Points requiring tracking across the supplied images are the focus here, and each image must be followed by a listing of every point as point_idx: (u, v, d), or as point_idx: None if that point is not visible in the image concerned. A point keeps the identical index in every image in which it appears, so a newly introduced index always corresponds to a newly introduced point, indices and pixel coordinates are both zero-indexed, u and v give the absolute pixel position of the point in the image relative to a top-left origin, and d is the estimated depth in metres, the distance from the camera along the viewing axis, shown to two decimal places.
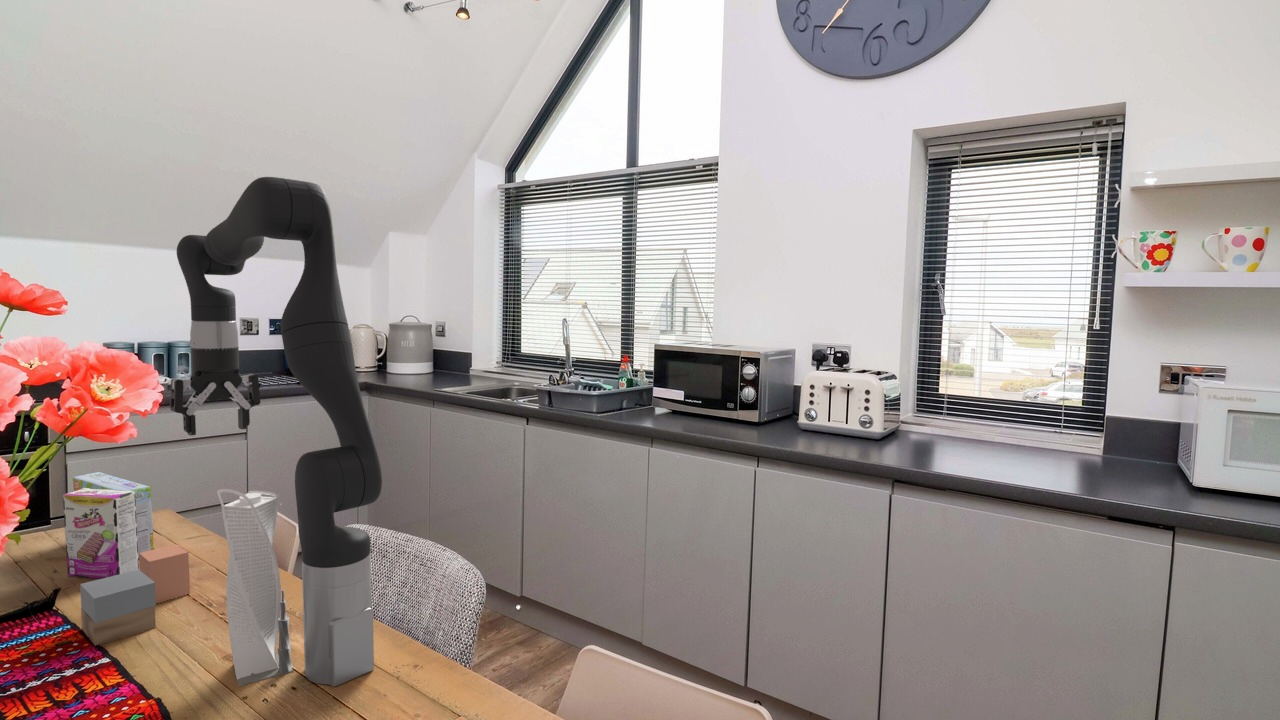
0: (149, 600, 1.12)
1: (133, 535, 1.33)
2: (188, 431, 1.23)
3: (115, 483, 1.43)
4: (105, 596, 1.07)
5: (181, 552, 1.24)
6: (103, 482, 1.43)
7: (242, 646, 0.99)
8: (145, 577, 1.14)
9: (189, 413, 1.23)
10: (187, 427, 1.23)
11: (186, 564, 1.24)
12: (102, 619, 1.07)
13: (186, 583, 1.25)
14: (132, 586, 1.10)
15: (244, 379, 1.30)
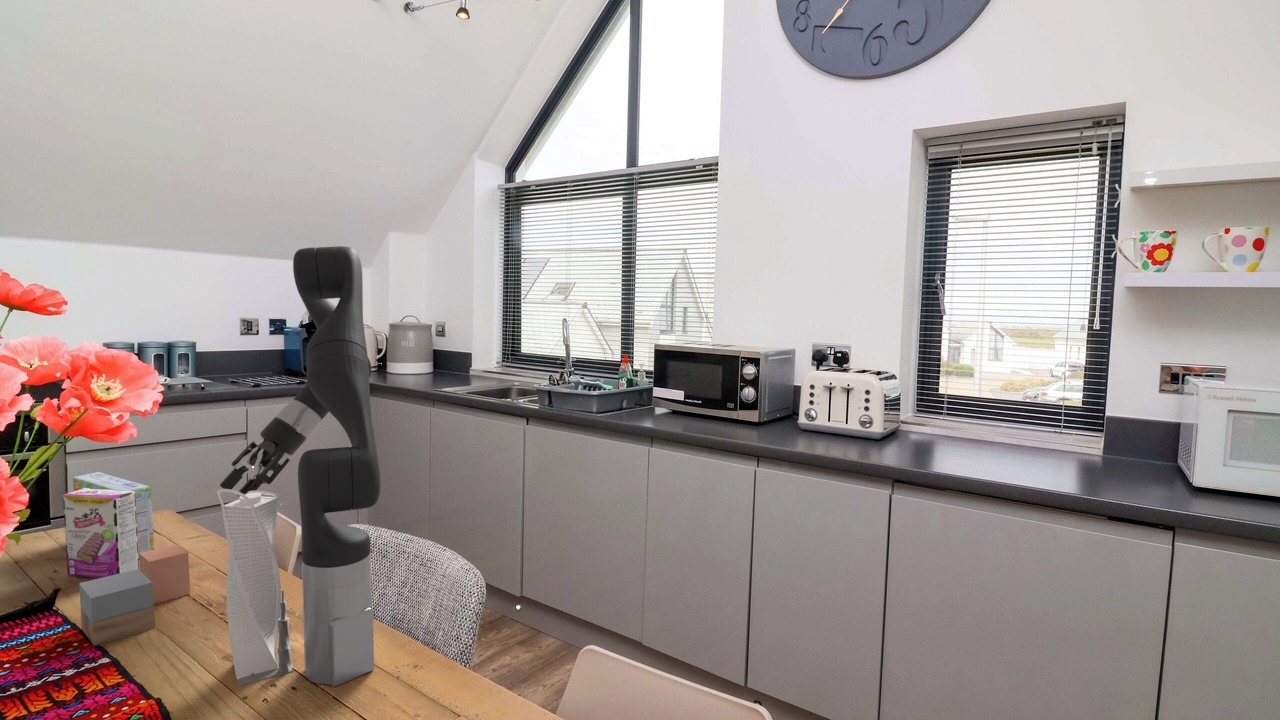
0: (146, 600, 1.12)
1: (133, 535, 1.33)
2: None
3: (115, 483, 1.43)
4: (102, 596, 1.07)
5: (181, 552, 1.24)
6: (103, 481, 1.43)
7: (242, 646, 0.99)
8: (143, 577, 1.14)
9: (233, 467, 1.37)
10: None
11: (186, 564, 1.24)
12: (99, 619, 1.07)
13: (186, 583, 1.25)
14: (129, 586, 1.10)
15: None
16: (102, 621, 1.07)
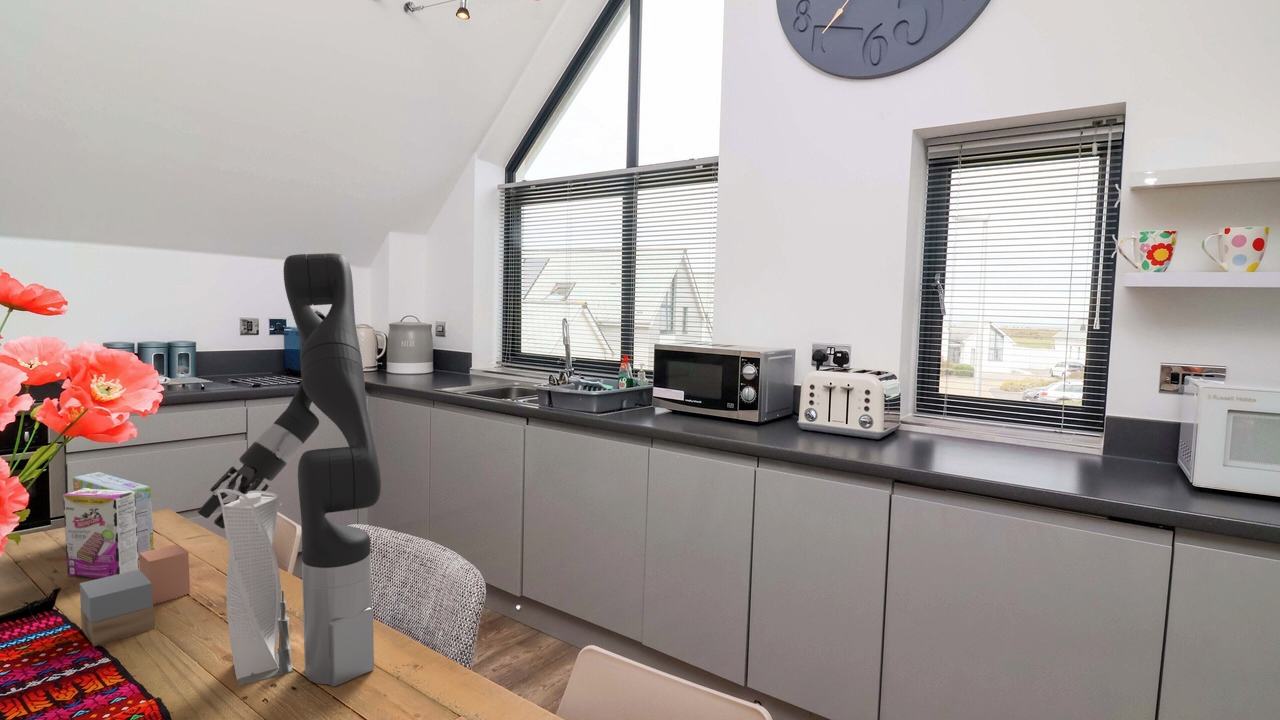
0: (146, 601, 1.11)
1: (133, 535, 1.33)
2: None
3: (115, 483, 1.43)
4: (101, 596, 1.07)
5: (181, 552, 1.24)
6: (103, 482, 1.43)
7: (242, 646, 0.99)
8: (143, 577, 1.14)
9: (212, 493, 1.34)
10: None
11: (186, 564, 1.24)
12: (98, 619, 1.07)
13: (186, 583, 1.25)
14: (128, 587, 1.10)
15: None
16: (102, 621, 1.07)
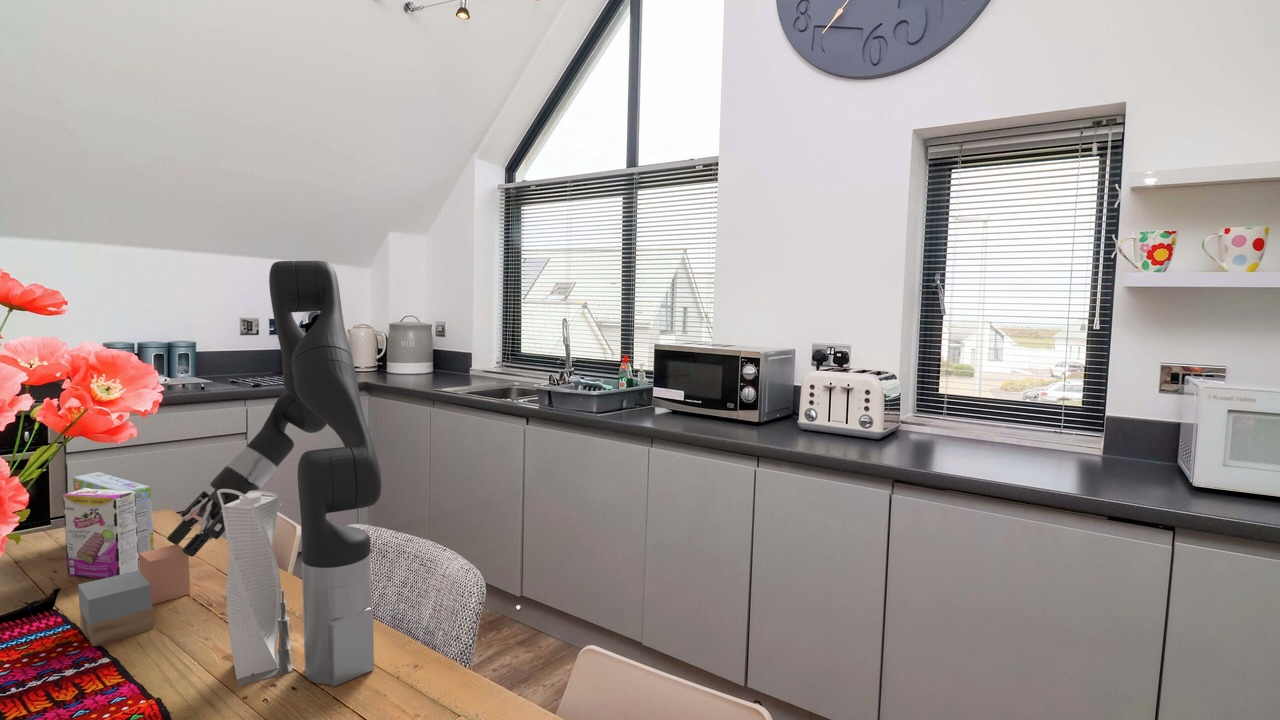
0: (144, 603, 1.11)
1: (133, 535, 1.33)
2: None
3: (115, 483, 1.43)
4: (99, 598, 1.06)
5: (181, 552, 1.24)
6: (103, 482, 1.43)
7: (242, 646, 0.99)
8: (142, 579, 1.13)
9: (182, 519, 1.30)
10: None
11: (186, 564, 1.24)
12: (96, 621, 1.06)
13: (186, 583, 1.25)
14: (127, 588, 1.10)
15: None
16: (101, 622, 1.07)
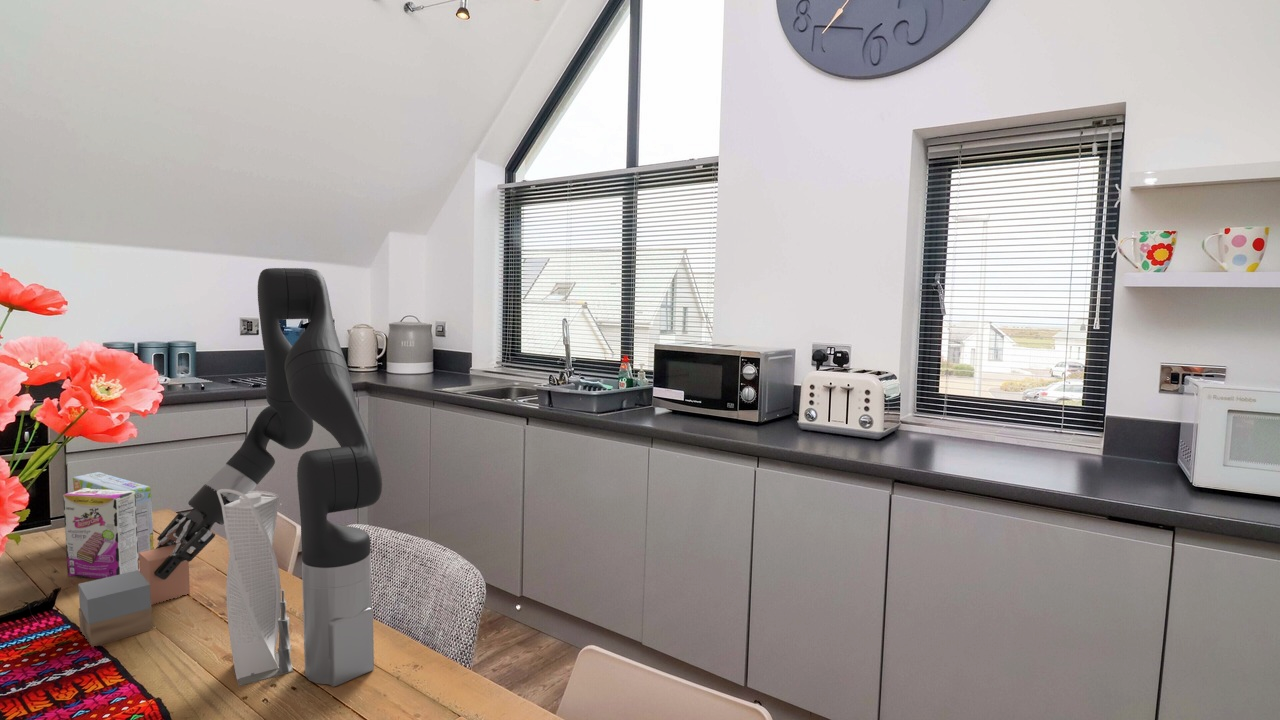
0: (144, 603, 1.11)
1: (133, 535, 1.33)
2: None
3: (115, 483, 1.43)
4: (98, 598, 1.06)
5: None
6: (103, 482, 1.43)
7: (242, 646, 0.99)
8: (142, 578, 1.13)
9: (158, 543, 1.27)
10: None
11: (186, 564, 1.24)
12: (96, 621, 1.06)
13: (186, 583, 1.25)
14: (127, 588, 1.09)
15: None
16: (100, 622, 1.07)
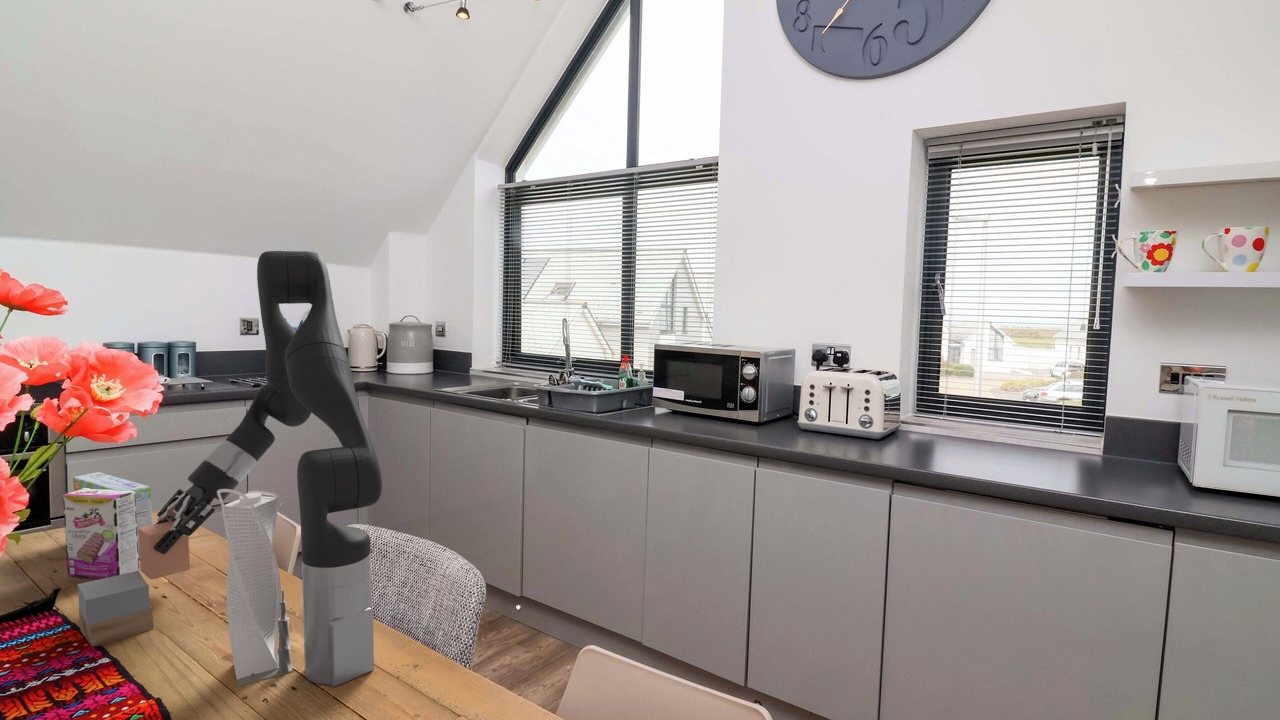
0: (143, 603, 1.11)
1: (133, 535, 1.33)
2: None
3: (115, 483, 1.43)
4: (97, 598, 1.06)
5: None
6: (103, 482, 1.43)
7: (242, 646, 0.99)
8: (141, 579, 1.13)
9: (158, 518, 1.26)
10: None
11: (186, 539, 1.24)
12: (94, 621, 1.06)
13: (186, 558, 1.24)
14: (125, 589, 1.09)
15: None
16: (100, 622, 1.07)
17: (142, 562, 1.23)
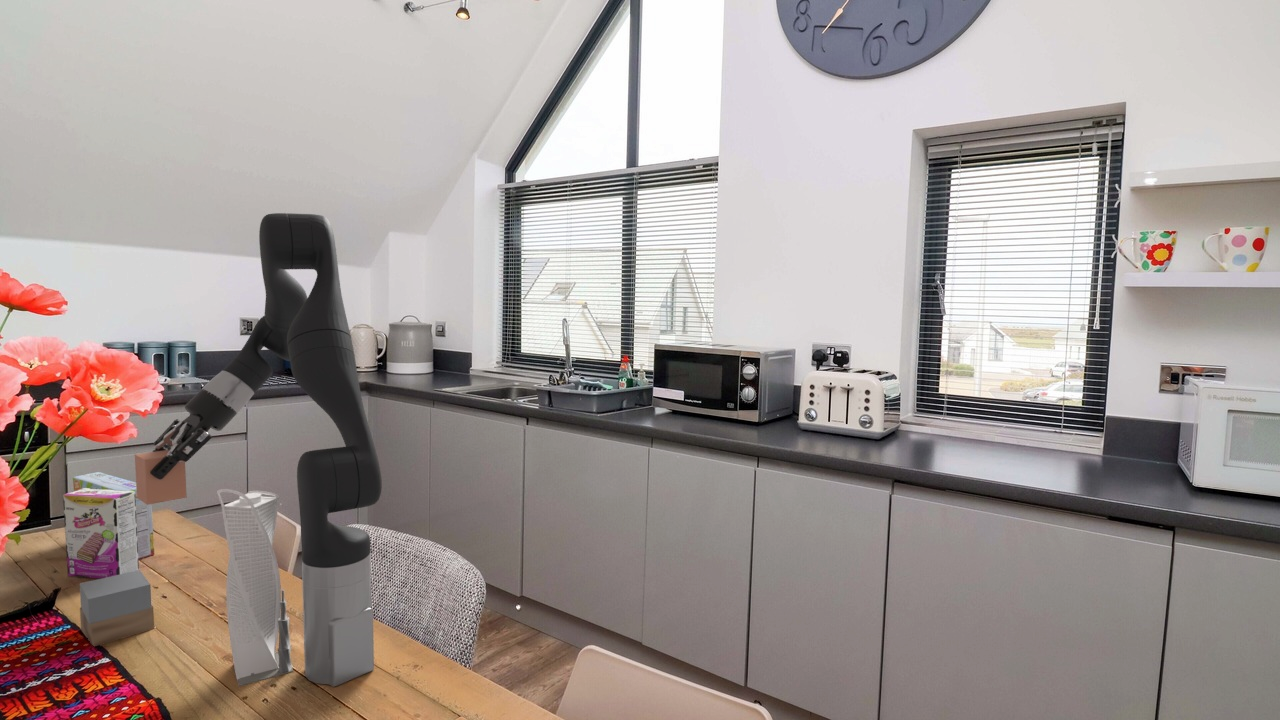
0: (144, 602, 1.11)
1: (133, 535, 1.33)
2: None
3: (115, 483, 1.43)
4: (99, 597, 1.06)
5: None
6: (103, 481, 1.43)
7: (242, 646, 0.99)
8: (143, 578, 1.13)
9: (154, 447, 1.25)
10: None
11: (182, 466, 1.23)
12: (96, 620, 1.06)
13: (182, 485, 1.23)
14: (127, 588, 1.10)
15: None
16: (101, 621, 1.07)
17: (138, 489, 1.22)
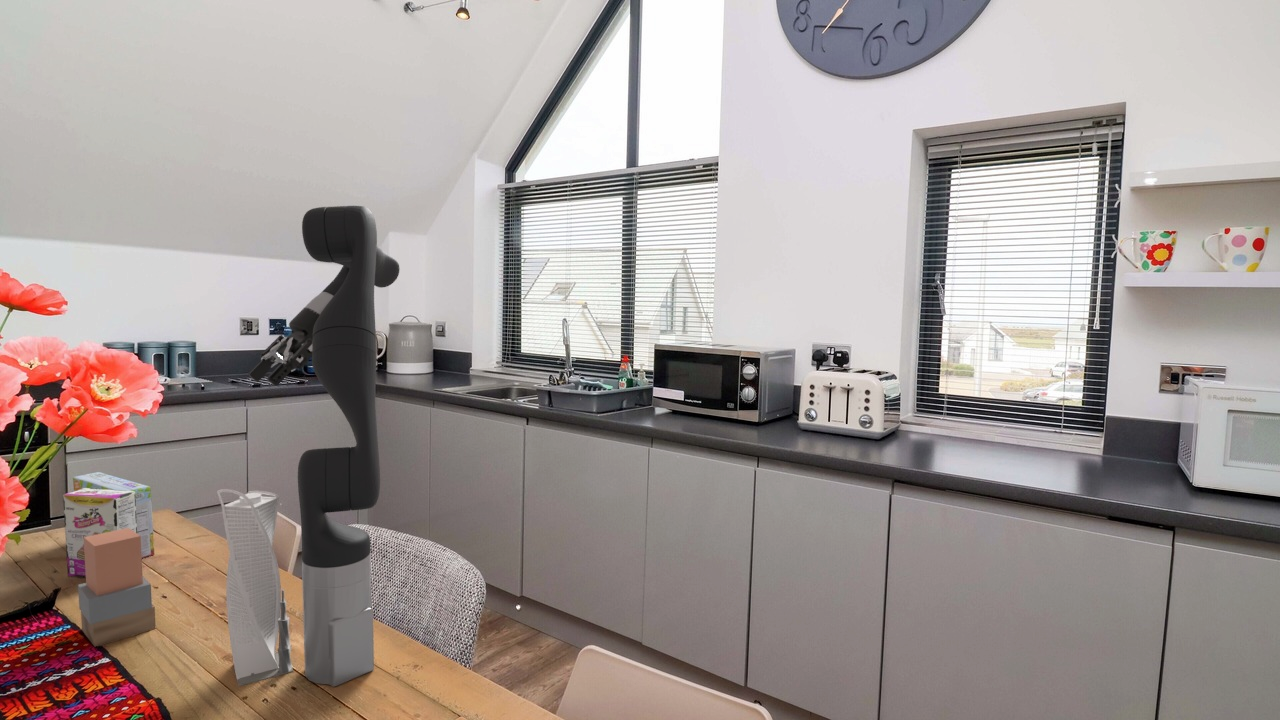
0: (145, 602, 1.11)
1: None
2: None
3: (115, 483, 1.43)
4: (100, 597, 1.06)
5: (132, 536, 1.10)
6: (103, 481, 1.43)
7: (242, 646, 0.99)
8: None
9: (262, 358, 1.34)
10: None
11: (138, 549, 1.11)
12: (97, 621, 1.06)
13: (138, 571, 1.11)
14: (127, 588, 1.10)
15: None
16: (103, 622, 1.07)
17: (88, 576, 1.09)
